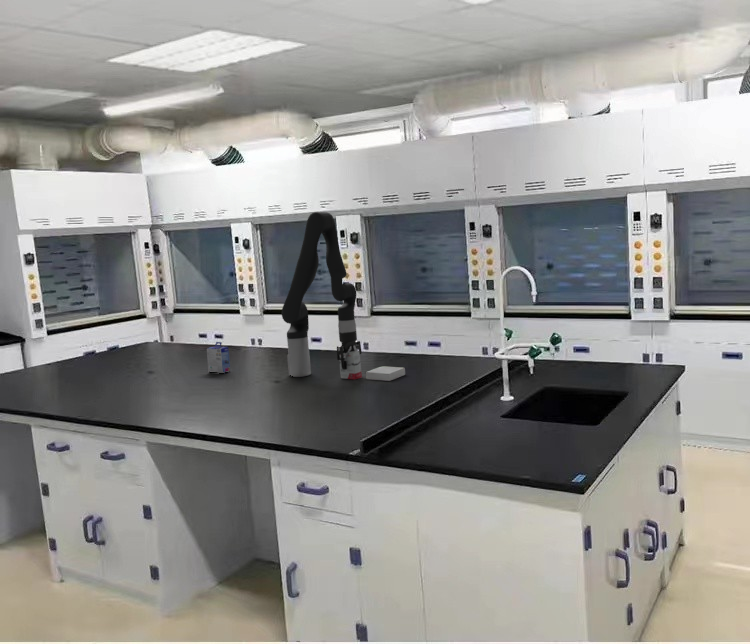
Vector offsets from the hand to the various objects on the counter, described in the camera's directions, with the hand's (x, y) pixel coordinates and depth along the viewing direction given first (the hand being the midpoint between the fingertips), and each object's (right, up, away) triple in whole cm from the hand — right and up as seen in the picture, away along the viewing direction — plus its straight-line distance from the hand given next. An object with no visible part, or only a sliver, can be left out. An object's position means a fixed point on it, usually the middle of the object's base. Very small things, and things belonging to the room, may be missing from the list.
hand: (350, 367), depth 316 cm
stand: (+15, -4, -3) cm, 16 cm away
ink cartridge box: (-64, -5, +35) cm, 73 cm away
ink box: (0, -5, +1) cm, 5 cm away
